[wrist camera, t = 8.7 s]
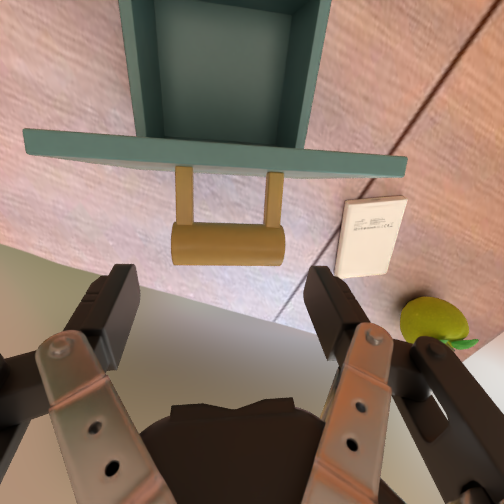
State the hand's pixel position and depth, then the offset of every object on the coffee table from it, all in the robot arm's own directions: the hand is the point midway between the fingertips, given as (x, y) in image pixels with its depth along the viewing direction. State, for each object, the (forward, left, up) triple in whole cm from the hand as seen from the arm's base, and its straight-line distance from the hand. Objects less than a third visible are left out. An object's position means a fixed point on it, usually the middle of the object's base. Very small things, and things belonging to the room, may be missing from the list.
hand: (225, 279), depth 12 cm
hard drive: (+14, +19, -22) cm, 33 cm away
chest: (-8, +2, -22) cm, 23 cm away
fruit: (+31, +30, -22) cm, 49 cm away
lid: (-4, +1, -7) cm, 8 cm away
